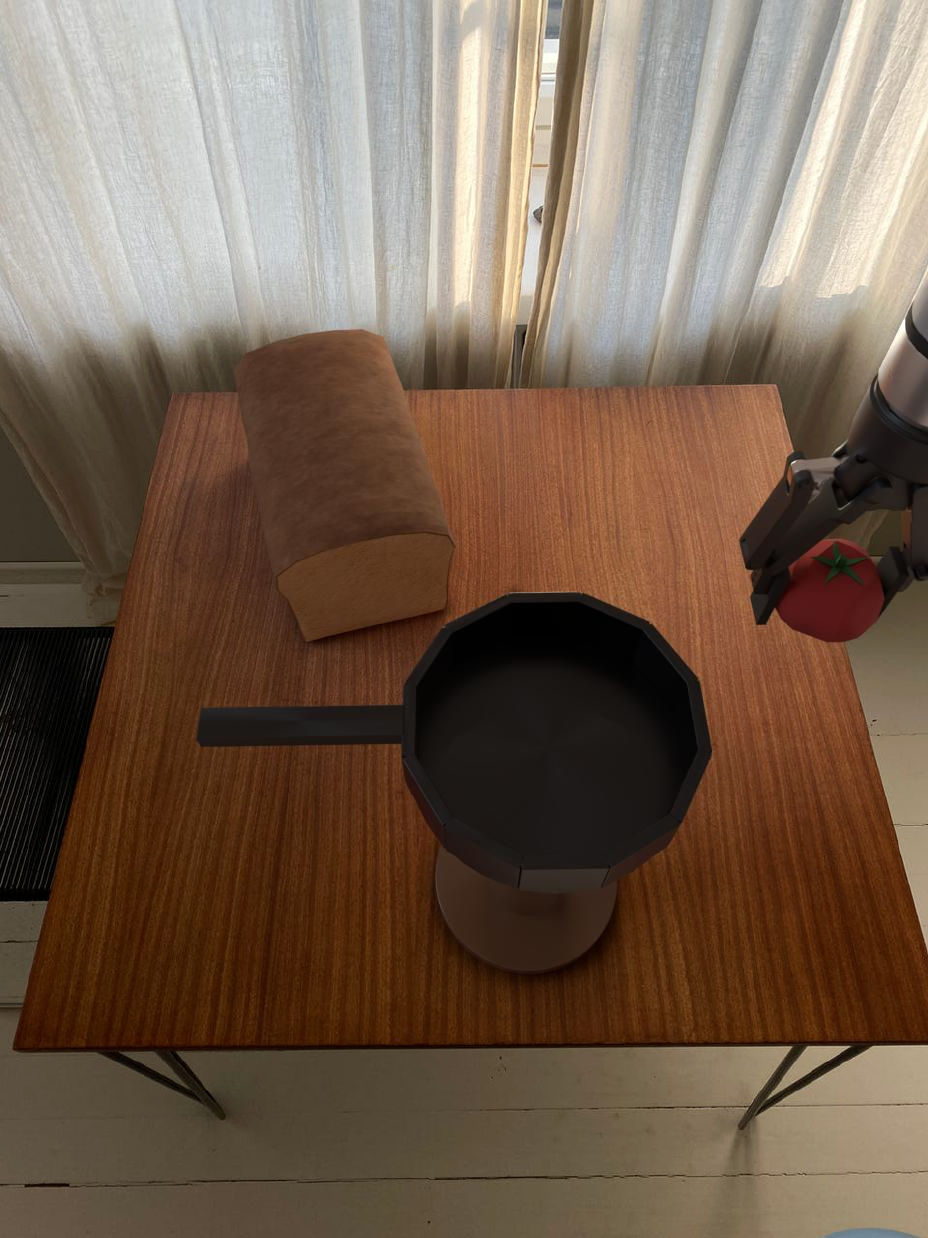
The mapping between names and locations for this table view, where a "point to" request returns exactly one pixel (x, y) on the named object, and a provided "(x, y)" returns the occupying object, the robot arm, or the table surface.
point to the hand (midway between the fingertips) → (811, 609)
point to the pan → (527, 764)
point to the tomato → (832, 592)
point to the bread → (342, 483)
